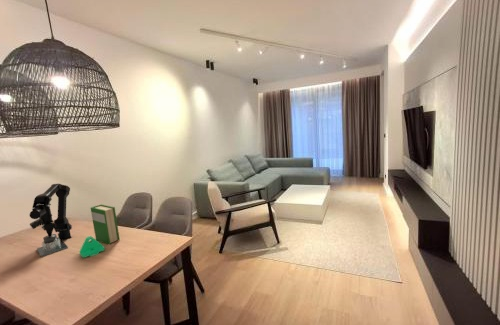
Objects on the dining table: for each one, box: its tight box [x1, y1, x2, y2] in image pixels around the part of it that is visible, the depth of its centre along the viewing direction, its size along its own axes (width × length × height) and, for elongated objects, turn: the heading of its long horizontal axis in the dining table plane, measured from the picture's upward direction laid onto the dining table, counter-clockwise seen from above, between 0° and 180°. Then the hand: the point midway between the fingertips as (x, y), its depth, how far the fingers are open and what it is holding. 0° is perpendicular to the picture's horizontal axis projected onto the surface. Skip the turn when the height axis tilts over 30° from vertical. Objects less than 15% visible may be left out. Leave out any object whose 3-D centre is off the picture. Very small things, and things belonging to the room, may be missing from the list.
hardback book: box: [90, 204, 120, 245], centre depth 171 cm, size 18×7×24 cm, turn 57°
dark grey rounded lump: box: [43, 233, 58, 243], centre depth 164 cm, size 7×7×6 cm
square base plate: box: [36, 237, 69, 258], centre depth 164 cm, size 14×16×6 cm
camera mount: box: [79, 236, 106, 258], centre depth 153 cm, size 12×8×10 cm, turn 136°
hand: (49, 236), depth 163 cm, fingers closed, pressing on dark grey rounded lump
